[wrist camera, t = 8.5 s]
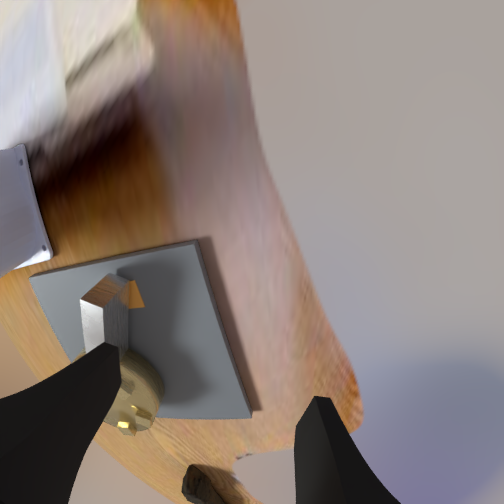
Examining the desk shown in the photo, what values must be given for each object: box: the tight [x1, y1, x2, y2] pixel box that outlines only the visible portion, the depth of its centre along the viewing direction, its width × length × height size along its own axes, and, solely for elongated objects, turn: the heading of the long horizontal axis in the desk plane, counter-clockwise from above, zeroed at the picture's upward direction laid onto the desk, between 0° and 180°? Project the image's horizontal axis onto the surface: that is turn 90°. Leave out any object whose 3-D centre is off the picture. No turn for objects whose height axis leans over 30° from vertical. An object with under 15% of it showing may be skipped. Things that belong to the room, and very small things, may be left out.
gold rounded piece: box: [72, 273, 165, 436], centre depth 18 cm, size 14×8×4 cm, turn 166°
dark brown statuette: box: [182, 465, 225, 504], centre depth 29 cm, size 19×4×5 cm, turn 6°
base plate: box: [29, 240, 252, 419], centre depth 21 cm, size 16×16×1 cm
